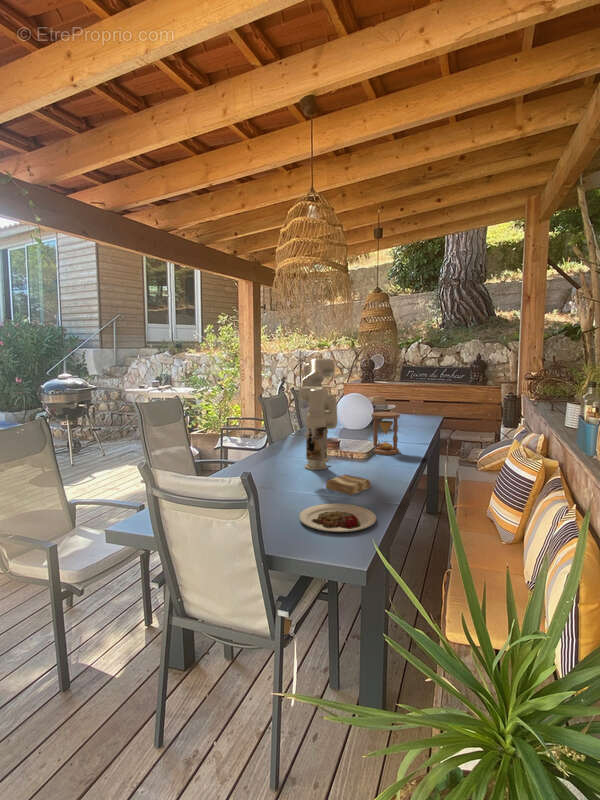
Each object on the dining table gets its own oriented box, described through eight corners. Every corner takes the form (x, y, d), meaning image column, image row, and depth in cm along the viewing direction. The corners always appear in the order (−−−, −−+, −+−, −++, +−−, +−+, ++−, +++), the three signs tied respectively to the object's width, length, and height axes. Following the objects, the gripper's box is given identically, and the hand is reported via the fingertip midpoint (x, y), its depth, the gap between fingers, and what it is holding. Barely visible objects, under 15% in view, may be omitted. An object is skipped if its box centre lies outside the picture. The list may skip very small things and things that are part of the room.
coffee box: (305, 459, 234) (305, 427, 232) (310, 456, 240) (310, 425, 238) (322, 461, 230) (322, 429, 228) (327, 458, 236) (327, 426, 234)
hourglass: (403, 451, 306) (404, 413, 304) (391, 456, 293) (391, 416, 290) (379, 448, 317) (379, 411, 314) (366, 452, 304) (366, 414, 301)
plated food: (315, 504, 206) (315, 496, 205) (383, 513, 194) (383, 505, 194) (287, 528, 178) (286, 520, 178) (364, 540, 167) (364, 531, 166)
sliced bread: (345, 481, 239) (345, 474, 238) (370, 487, 229) (370, 479, 228) (326, 488, 228) (326, 480, 227) (351, 494, 218) (351, 486, 217)
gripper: (322, 410, 241) (322, 444, 243) (298, 415, 228) (299, 451, 230) (333, 412, 236) (333, 447, 238) (310, 417, 223) (310, 453, 225)
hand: (316, 448), depth 234 cm, fingers closed on coffee box, 7 cm apart
